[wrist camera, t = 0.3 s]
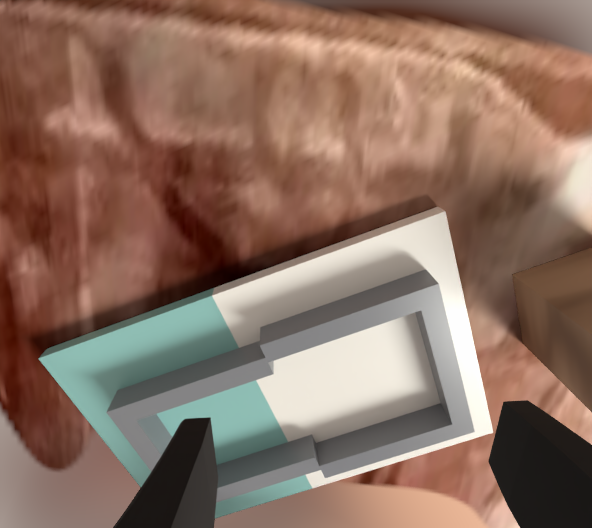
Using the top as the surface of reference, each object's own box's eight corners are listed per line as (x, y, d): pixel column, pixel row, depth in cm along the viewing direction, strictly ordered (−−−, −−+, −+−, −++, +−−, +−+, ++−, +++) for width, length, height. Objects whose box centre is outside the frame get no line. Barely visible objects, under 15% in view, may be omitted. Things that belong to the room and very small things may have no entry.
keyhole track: (486, 421, 23) (507, 454, 21) (177, 518, 25) (169, 557, 23) (437, 206, 18) (460, 221, 16) (46, 348, 19) (20, 379, 17)
